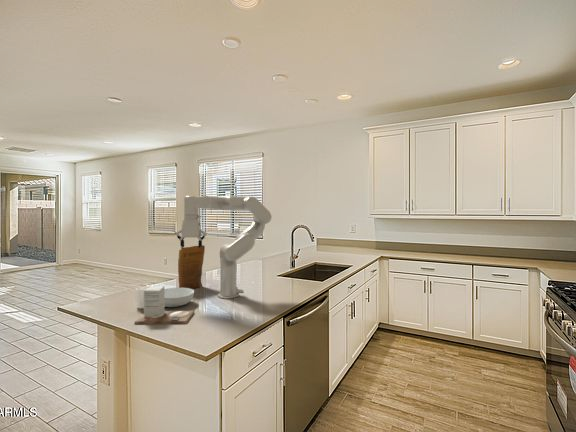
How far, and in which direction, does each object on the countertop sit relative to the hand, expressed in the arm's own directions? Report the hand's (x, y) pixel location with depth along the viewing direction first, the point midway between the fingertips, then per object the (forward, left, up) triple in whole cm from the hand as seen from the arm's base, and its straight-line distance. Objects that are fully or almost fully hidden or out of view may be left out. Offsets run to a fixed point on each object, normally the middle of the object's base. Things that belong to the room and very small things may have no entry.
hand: (191, 247), depth 172 cm
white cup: (+22, +11, -31) cm, 39 cm away
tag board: (+4, +29, -30) cm, 42 cm away
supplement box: (+10, +27, -29) cm, 41 cm away
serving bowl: (+7, +8, -31) cm, 32 cm away
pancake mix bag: (+7, -26, -31) cm, 41 cm away
